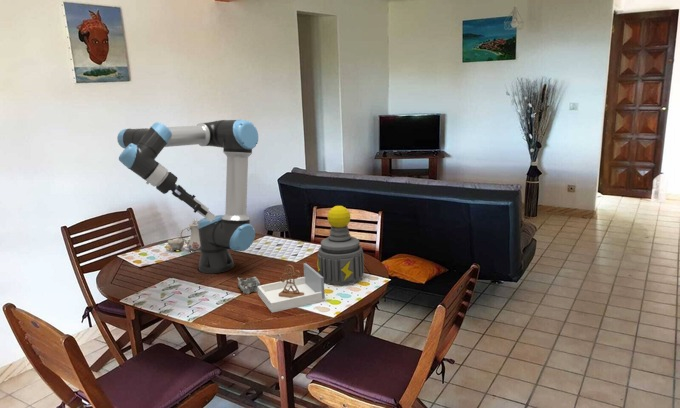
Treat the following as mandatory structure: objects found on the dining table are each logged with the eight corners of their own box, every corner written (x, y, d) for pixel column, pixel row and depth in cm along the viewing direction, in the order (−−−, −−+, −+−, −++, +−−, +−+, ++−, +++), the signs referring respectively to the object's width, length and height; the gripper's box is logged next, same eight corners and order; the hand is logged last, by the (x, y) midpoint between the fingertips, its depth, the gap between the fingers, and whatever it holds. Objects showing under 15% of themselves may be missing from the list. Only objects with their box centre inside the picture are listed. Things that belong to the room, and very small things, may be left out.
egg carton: (237, 286, 199) (236, 276, 198) (255, 283, 202) (254, 273, 201) (242, 295, 190) (241, 285, 189) (262, 292, 192) (261, 282, 191)
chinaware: (216, 242, 264) (212, 211, 262) (230, 246, 251) (225, 213, 249) (164, 254, 247) (158, 221, 245) (175, 259, 234) (170, 224, 232)
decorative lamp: (324, 289, 192) (320, 213, 185) (313, 272, 210) (310, 203, 203) (370, 282, 197) (368, 208, 190) (356, 267, 214) (354, 199, 208)
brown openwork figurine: (278, 296, 184) (276, 265, 182) (283, 292, 188) (281, 262, 185) (299, 299, 181) (298, 267, 179) (304, 294, 185) (302, 264, 182)
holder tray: (257, 294, 189) (256, 272, 187) (307, 284, 197) (305, 263, 195) (271, 312, 173) (270, 288, 171) (324, 300, 181) (323, 277, 179)
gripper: (151, 182, 184) (197, 215, 194) (158, 193, 162) (209, 231, 171) (165, 166, 185) (210, 200, 194) (173, 175, 163) (223, 214, 172)
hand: (209, 215), depth 183 cm, fingers open, 13 cm apart
